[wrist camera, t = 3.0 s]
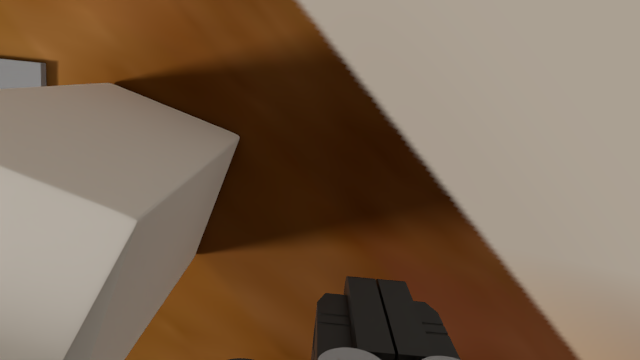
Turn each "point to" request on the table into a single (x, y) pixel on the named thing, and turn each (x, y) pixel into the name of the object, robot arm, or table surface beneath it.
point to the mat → (21, 74)
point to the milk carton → (97, 215)
